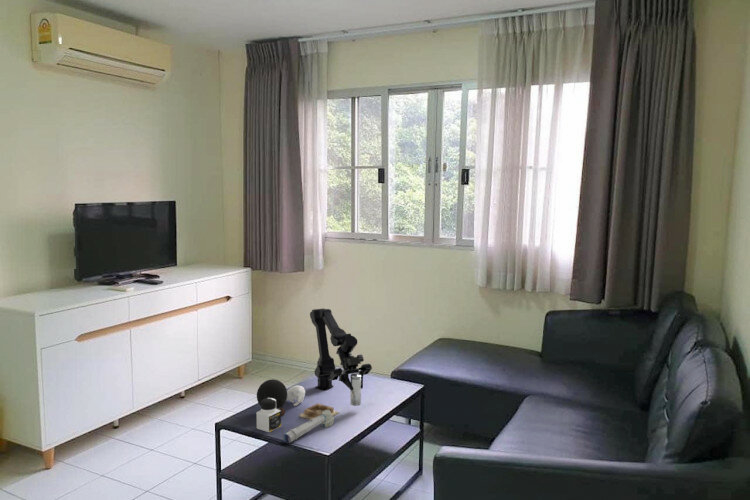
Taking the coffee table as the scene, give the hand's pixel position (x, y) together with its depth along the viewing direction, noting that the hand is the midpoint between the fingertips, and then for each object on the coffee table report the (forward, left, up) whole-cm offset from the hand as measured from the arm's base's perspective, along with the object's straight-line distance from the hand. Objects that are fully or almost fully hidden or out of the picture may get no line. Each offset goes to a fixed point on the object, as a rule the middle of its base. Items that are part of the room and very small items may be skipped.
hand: (357, 389), depth 237 cm
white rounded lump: (-31, -7, -11) cm, 34 cm away
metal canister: (-1, +1, -7) cm, 7 cm away
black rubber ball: (-30, -21, -11) cm, 39 cm away
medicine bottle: (-21, -33, -11) cm, 41 cm away
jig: (-12, -11, -11) cm, 20 cm away
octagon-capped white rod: (-4, -27, -11) cm, 29 cm away
